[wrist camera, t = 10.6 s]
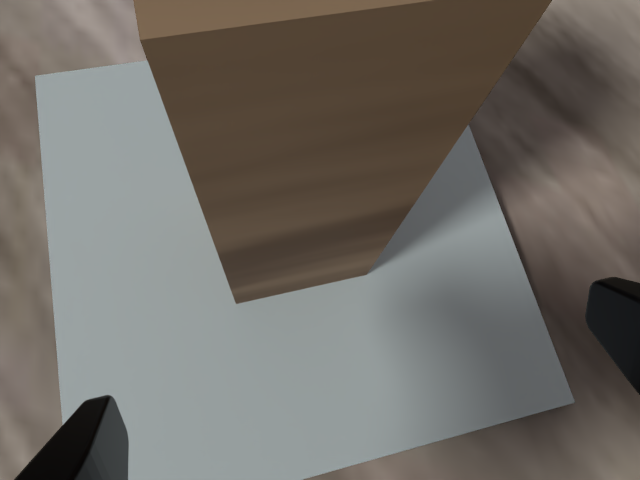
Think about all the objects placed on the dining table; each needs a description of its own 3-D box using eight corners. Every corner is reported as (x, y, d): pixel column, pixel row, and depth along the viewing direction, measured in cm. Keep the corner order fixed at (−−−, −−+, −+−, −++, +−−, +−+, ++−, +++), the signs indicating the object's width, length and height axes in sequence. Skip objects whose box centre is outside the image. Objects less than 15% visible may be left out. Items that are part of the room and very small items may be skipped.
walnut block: (366, 274, 17) (564, -18, 5) (236, 304, 17) (140, 39, 5) (333, 159, 19) (434, -272, 7) (211, 182, 18) (90, -258, 6)
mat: (568, 402, 17) (575, 402, 16) (77, 540, 14) (72, 544, 14) (426, 28, 22) (429, 21, 21) (39, 82, 19) (35, 75, 19)
